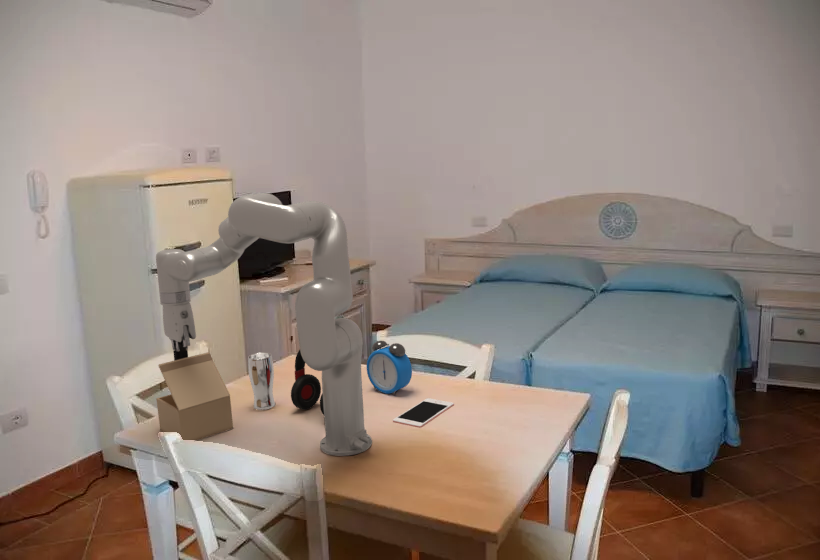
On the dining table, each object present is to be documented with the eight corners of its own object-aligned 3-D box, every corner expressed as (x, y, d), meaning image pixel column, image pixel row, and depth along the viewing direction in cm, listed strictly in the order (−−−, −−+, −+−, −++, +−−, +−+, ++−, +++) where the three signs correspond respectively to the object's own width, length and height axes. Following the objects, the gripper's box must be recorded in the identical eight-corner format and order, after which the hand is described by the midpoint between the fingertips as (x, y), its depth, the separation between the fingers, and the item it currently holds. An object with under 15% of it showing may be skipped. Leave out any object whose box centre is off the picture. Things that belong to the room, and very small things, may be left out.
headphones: (287, 412, 193) (281, 342, 189) (314, 401, 200) (309, 334, 196) (329, 426, 181) (324, 353, 178) (356, 414, 189) (352, 344, 185)
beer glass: (279, 401, 201) (275, 351, 198) (272, 410, 194) (268, 359, 192) (256, 401, 202) (251, 352, 199) (248, 410, 195) (243, 359, 192)
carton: (233, 428, 183) (230, 396, 181) (182, 445, 174) (178, 411, 172) (209, 414, 193) (205, 384, 192) (160, 430, 184) (156, 398, 183)
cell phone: (454, 406, 193) (454, 402, 193) (420, 429, 178) (420, 425, 178) (427, 400, 197) (427, 397, 197) (391, 423, 183) (391, 419, 183)
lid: (229, 396, 181) (230, 394, 181) (179, 411, 172) (179, 409, 172) (208, 353, 187) (209, 351, 187) (158, 365, 178) (158, 364, 178)
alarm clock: (367, 390, 207) (364, 341, 204) (380, 384, 212) (377, 336, 209) (400, 398, 199) (398, 348, 196) (414, 391, 204) (411, 342, 201)
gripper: (201, 298, 177) (207, 367, 181) (177, 290, 188) (183, 355, 192) (172, 304, 173) (179, 374, 176) (149, 295, 184) (156, 361, 187)
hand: (181, 364), depth 184 cm, fingers closed
